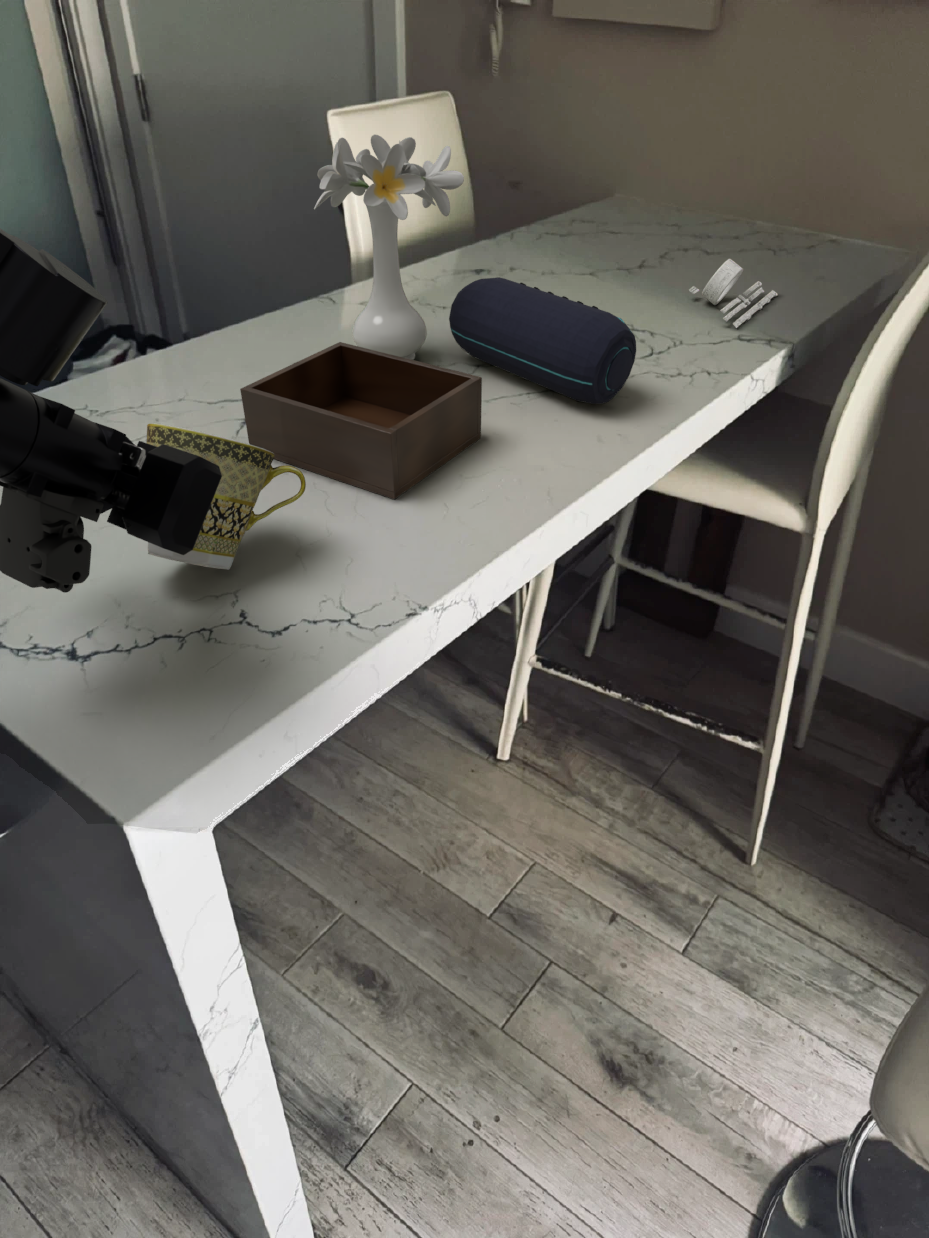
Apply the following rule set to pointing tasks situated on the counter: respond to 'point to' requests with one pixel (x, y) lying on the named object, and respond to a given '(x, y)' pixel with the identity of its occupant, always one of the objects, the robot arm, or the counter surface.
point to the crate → (364, 416)
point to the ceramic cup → (223, 492)
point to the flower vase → (388, 231)
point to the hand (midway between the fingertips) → (186, 507)
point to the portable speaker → (544, 338)
